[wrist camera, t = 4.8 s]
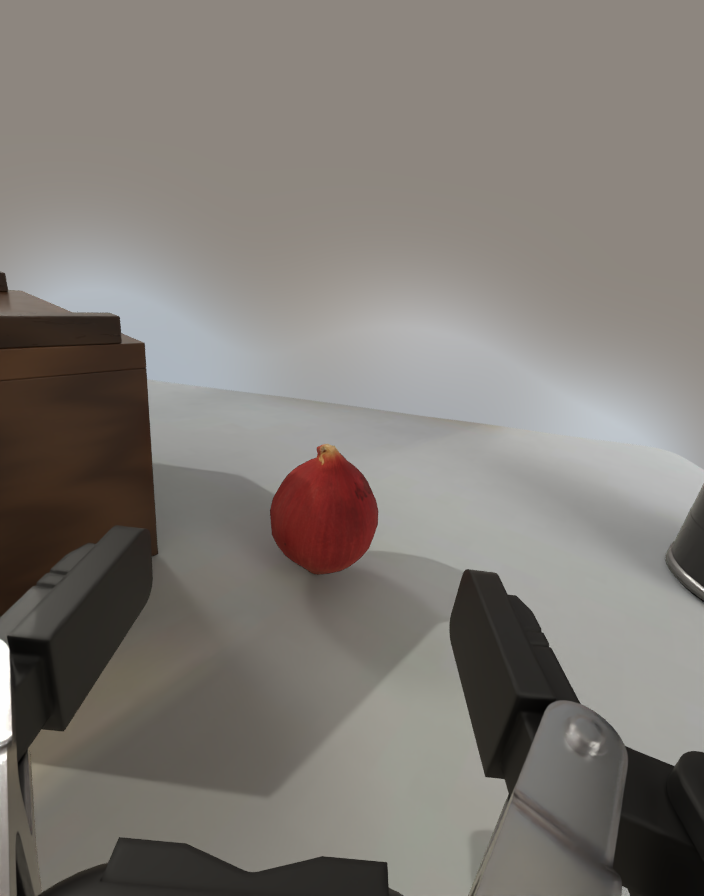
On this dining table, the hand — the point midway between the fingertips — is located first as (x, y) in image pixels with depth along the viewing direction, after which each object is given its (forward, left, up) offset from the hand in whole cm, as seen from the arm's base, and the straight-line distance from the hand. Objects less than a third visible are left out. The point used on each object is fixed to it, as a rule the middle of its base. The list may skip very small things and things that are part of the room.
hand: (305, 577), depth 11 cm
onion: (-9, -7, -9) cm, 15 cm away
